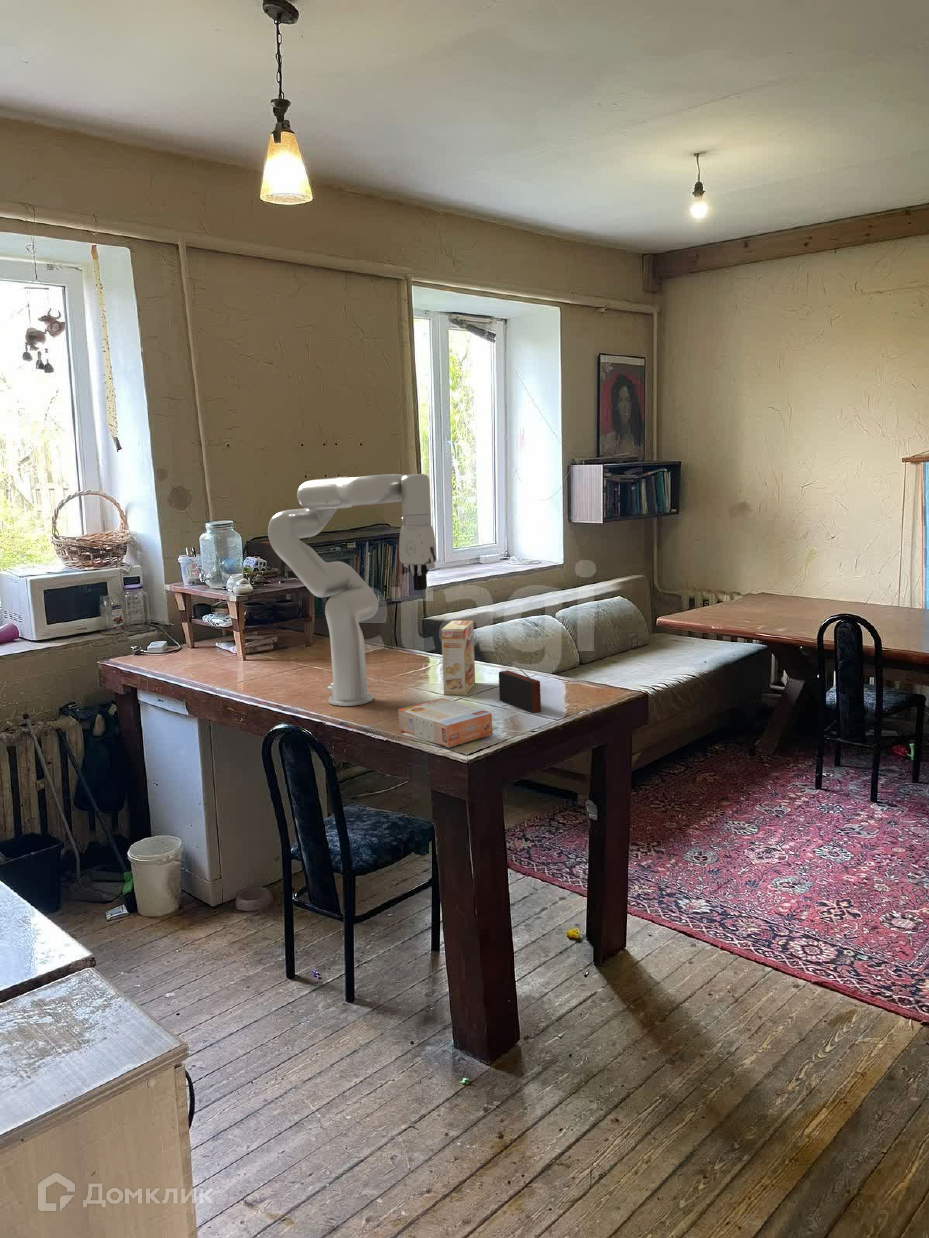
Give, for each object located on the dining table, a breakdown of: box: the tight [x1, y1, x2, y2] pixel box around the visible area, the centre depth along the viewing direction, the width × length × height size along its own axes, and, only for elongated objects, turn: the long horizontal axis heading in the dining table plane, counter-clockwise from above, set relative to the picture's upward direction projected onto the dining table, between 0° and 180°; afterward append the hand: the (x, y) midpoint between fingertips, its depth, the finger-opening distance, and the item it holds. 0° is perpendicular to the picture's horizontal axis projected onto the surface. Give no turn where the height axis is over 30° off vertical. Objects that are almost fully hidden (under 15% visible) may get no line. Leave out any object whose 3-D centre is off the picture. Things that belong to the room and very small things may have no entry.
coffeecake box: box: [440, 619, 476, 696], centre depth 270 cm, size 15×7×20 cm, turn 168°
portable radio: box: [495, 647, 542, 714], centre depth 250 cm, size 19×3×15 cm, turn 30°
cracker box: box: [397, 697, 494, 748], centre depth 226 cm, size 14×6×21 cm
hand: (420, 589), depth 245 cm, fingers closed
